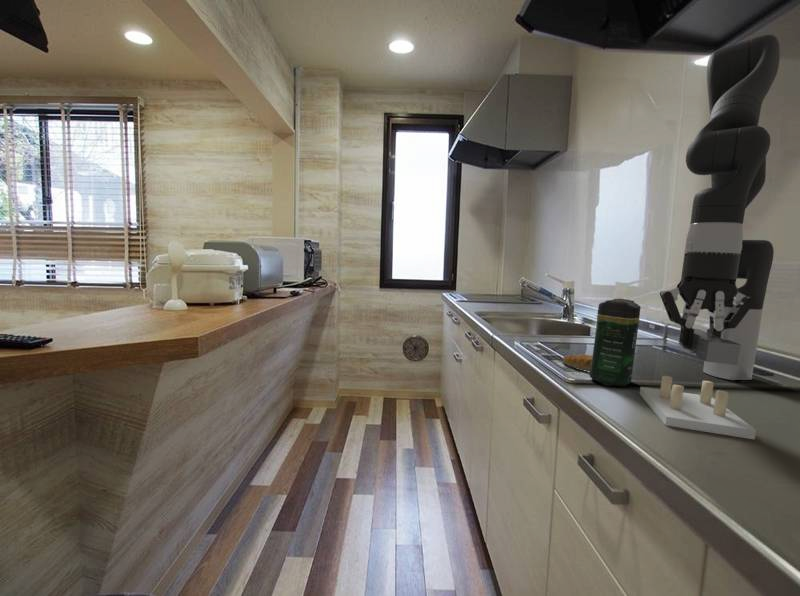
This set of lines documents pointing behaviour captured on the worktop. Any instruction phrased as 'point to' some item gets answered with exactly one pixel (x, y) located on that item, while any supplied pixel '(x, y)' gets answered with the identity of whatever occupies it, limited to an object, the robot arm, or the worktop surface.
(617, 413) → the worktop surface
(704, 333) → the grey long block
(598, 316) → the coffee jar
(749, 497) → the worktop surface
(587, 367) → the pastry
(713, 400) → the rack
